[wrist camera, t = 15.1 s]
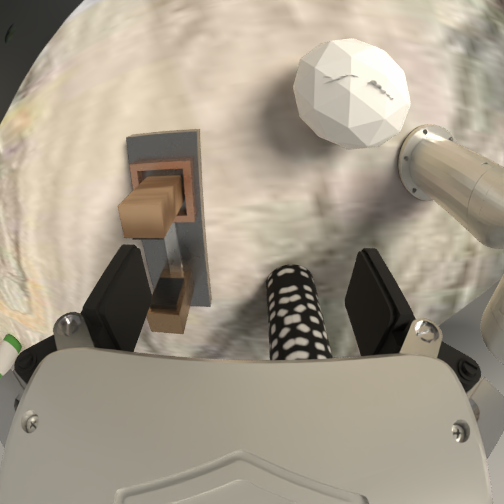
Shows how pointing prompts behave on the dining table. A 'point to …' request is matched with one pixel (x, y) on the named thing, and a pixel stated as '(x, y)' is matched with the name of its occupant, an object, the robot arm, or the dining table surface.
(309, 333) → the white-spotted black cylinder
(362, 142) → the geodesic sphere
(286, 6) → the dining table surface
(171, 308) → the rail
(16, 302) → the dining table surface
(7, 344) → the wine bottle
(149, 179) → the gripped brown wooden block
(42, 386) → the robot arm
